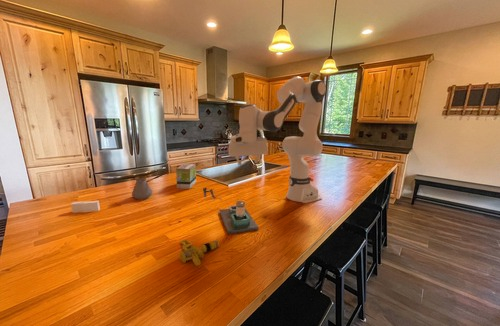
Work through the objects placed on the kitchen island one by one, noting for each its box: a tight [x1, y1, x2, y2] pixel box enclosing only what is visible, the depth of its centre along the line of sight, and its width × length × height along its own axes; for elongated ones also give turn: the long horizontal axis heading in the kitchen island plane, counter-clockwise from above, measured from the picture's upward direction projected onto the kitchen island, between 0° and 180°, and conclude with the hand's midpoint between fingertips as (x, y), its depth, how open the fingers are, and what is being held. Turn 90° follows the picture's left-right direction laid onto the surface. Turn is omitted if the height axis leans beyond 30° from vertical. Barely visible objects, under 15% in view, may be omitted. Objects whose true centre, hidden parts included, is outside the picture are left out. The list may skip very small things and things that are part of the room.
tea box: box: [175, 163, 197, 190], centre depth 149 cm, size 15×10×15 cm
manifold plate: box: [218, 204, 259, 236], centre depth 100 cm, size 14×22×4 cm, turn 18°
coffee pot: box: [131, 171, 169, 201], centre depth 127 cm, size 21×12×15 cm, turn 111°
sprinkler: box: [179, 239, 220, 267], centre depth 77 cm, size 19×4×15 cm
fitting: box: [235, 200, 246, 220], centre depth 95 cm, size 4×4×10 cm
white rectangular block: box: [70, 200, 101, 214], centre depth 107 cm, size 15×11×6 cm
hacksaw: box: [203, 187, 222, 201], centre depth 134 cm, size 24×10×2 cm, turn 15°
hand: (248, 163), depth 107 cm, fingers open, 8 cm apart
